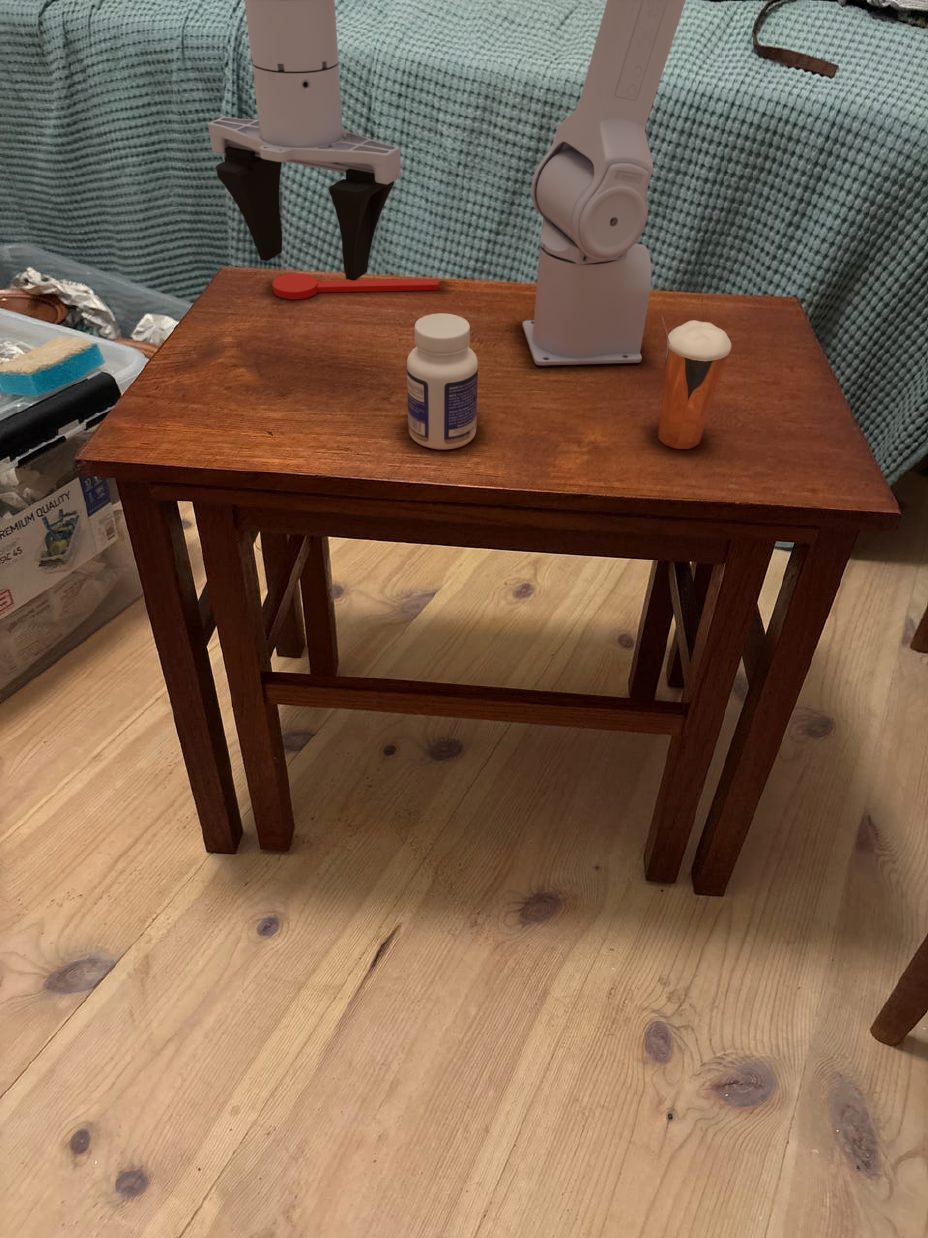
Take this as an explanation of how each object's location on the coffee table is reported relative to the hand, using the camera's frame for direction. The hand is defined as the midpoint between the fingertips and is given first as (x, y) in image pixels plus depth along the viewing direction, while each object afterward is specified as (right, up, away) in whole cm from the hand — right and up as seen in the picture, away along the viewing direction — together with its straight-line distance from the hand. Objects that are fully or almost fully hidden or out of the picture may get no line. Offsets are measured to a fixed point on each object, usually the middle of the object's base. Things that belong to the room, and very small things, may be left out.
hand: (313, 265), depth 70 cm
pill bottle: (+10, -13, +1) cm, 16 cm away
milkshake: (+28, -13, +2) cm, 31 cm away
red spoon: (0, +5, +20) cm, 21 cm away
